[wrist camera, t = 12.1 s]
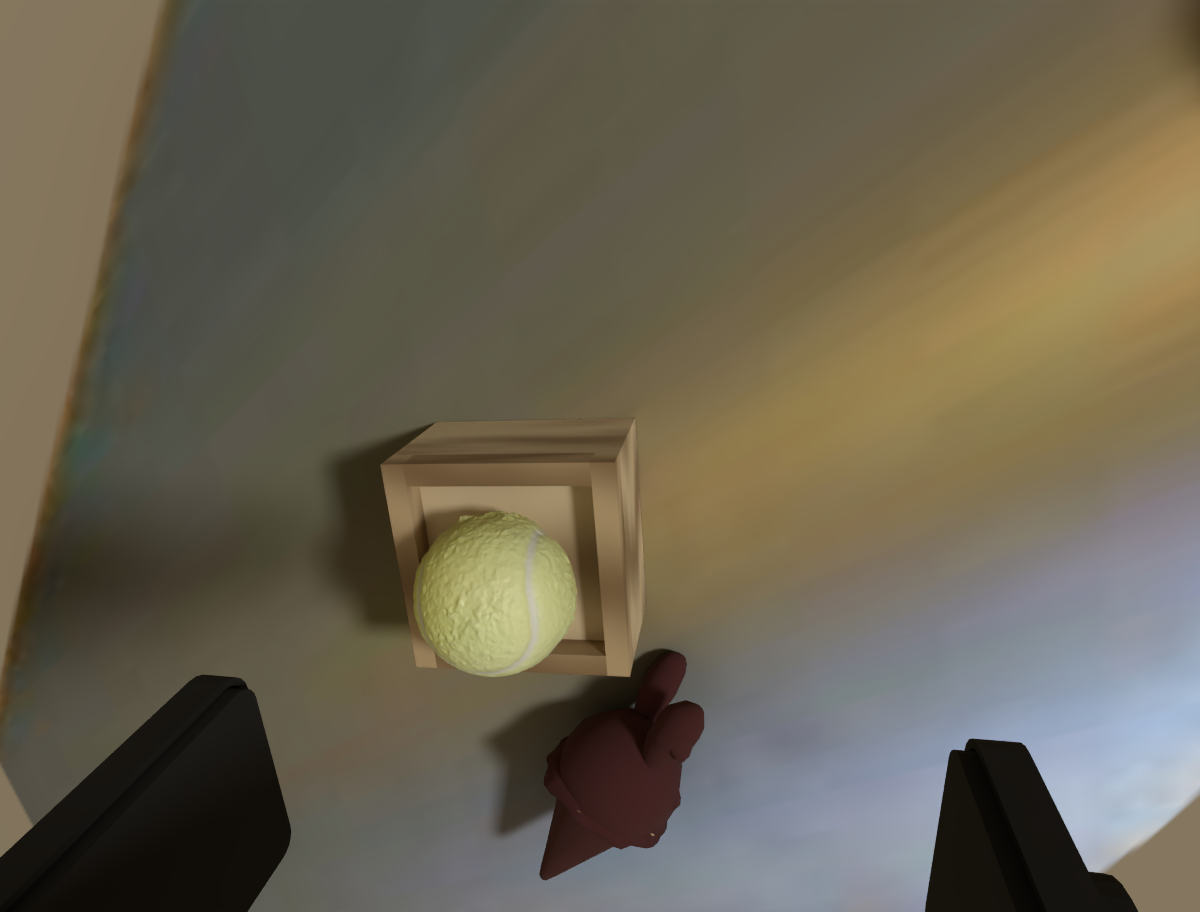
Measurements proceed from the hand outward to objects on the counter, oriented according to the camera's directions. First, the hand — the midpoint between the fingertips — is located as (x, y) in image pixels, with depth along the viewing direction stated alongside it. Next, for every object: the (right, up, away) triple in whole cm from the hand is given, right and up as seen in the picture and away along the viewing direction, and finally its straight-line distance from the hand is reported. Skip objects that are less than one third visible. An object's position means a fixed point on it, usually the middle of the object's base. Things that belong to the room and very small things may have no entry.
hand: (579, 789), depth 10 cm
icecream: (+2, -11, +31) cm, 34 cm away
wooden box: (-3, +1, +27) cm, 28 cm away
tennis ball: (-3, 0, +23) cm, 23 cm away
